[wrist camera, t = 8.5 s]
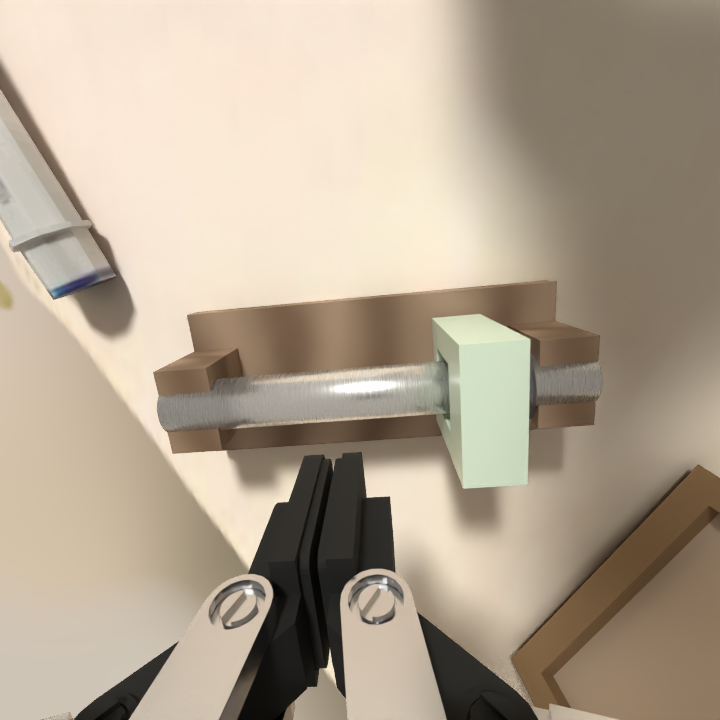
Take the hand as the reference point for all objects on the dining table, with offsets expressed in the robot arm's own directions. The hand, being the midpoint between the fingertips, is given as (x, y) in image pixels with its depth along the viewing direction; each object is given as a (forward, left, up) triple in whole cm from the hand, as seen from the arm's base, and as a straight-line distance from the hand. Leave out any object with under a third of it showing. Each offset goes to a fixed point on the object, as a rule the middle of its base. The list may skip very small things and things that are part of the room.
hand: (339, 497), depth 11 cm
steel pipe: (+1, +1, -13) cm, 13 cm away
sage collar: (+1, +6, -14) cm, 16 cm away
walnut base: (+1, +1, -17) cm, 17 cm away
